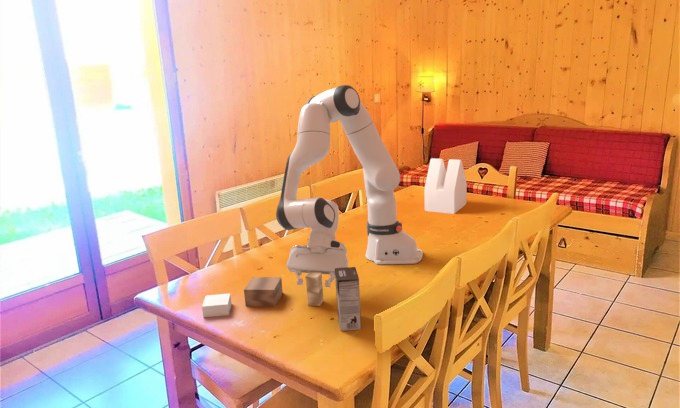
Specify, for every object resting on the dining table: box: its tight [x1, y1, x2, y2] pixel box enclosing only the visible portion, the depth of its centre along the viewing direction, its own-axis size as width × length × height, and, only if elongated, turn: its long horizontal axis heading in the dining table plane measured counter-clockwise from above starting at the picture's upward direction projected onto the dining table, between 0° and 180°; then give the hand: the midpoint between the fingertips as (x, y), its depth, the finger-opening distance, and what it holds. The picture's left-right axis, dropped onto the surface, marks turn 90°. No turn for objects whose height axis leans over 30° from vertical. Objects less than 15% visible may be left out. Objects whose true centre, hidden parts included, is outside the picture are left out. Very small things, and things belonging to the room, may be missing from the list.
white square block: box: [201, 293, 232, 318], centre depth 168 cm, size 8×8×4 cm
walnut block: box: [243, 276, 284, 307], centre depth 173 cm, size 10×10×6 cm
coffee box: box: [334, 266, 362, 332], centre depth 153 cm, size 9×6×16 cm
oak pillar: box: [305, 272, 324, 307], centre depth 168 cm, size 4×4×10 cm
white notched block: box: [423, 157, 468, 215], centre depth 264 cm, size 19×15×25 cm
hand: (313, 285), depth 167 cm, fingers open, 8 cm apart
